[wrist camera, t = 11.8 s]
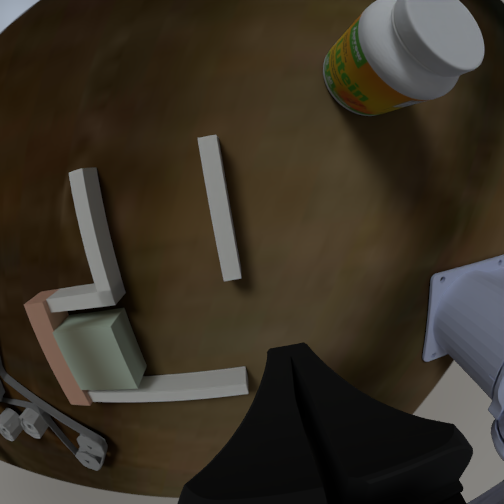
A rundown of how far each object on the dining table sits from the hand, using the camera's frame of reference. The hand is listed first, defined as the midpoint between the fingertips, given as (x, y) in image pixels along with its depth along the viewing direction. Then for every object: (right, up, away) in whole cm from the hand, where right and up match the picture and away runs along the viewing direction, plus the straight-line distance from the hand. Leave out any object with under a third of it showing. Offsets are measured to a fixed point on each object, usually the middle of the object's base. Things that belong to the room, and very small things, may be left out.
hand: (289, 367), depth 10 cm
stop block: (-16, -3, +10) cm, 19 cm away
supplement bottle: (+6, +15, +6) cm, 17 cm away
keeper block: (-12, -2, +10) cm, 16 cm away
